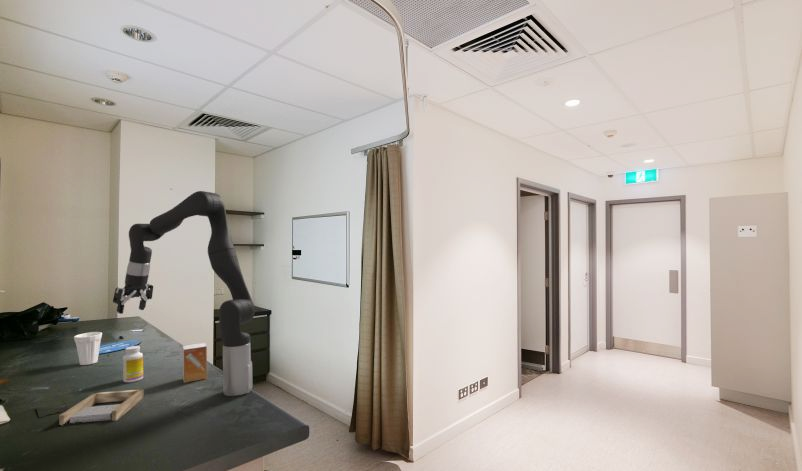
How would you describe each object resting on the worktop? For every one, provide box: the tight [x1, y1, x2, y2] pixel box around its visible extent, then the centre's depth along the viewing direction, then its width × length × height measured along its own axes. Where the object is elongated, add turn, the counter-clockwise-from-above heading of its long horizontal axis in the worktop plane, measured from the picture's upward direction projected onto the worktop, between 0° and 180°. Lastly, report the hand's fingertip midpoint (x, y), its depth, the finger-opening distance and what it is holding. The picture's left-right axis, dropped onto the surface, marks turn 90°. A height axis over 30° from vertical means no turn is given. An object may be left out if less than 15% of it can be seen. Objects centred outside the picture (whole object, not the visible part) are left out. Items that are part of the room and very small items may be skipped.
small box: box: [182, 342, 208, 384], centre depth 152 cm, size 8×6×13 cm
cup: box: [73, 331, 103, 366], centre depth 174 cm, size 10×10×13 cm
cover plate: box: [69, 403, 121, 424], centre depth 121 cm, size 11×7×2 cm, turn 100°
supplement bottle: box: [122, 345, 144, 383], centre depth 152 cm, size 7×7×13 cm
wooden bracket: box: [58, 388, 145, 426], centre depth 125 cm, size 15×17×3 cm
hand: (131, 311), depth 155 cm, fingers open, 8 cm apart
